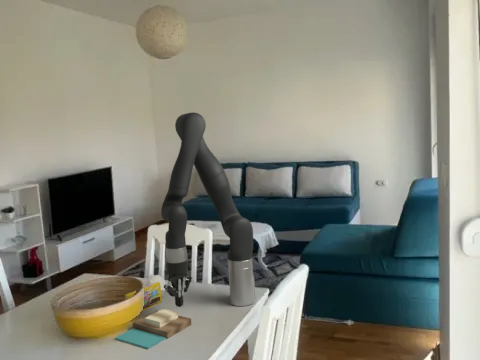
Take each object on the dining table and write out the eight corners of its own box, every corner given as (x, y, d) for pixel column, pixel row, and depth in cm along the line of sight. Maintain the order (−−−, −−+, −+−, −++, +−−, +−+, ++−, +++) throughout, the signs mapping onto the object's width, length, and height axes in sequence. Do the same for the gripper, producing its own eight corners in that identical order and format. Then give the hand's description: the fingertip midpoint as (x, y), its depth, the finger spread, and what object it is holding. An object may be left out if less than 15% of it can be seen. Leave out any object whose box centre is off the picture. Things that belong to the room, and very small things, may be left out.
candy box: (129, 317, 175) (127, 295, 174) (126, 316, 177) (124, 294, 176) (162, 302, 188) (160, 282, 187) (158, 301, 189) (156, 281, 188)
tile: (163, 314, 171) (162, 308, 170) (178, 317, 167) (177, 312, 166) (145, 323, 163) (144, 318, 163) (160, 327, 159) (159, 321, 159)
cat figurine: (158, 277, 189) (157, 267, 201) (136, 294, 188) (136, 283, 200) (171, 293, 191) (169, 283, 203) (149, 310, 190) (149, 298, 202)
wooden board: (157, 316, 175) (157, 310, 174) (191, 324, 166) (190, 318, 165) (133, 329, 165) (132, 322, 165) (167, 338, 156) (167, 332, 156)
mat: (133, 329, 164) (133, 328, 164) (165, 338, 156) (165, 337, 156) (115, 339, 158) (115, 337, 158) (148, 349, 149) (148, 347, 149)
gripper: (171, 265, 163) (174, 314, 165) (196, 255, 174) (199, 301, 176) (155, 262, 168) (159, 310, 170) (181, 253, 178) (183, 298, 180)
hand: (179, 305), depth 173 cm, fingers closed
